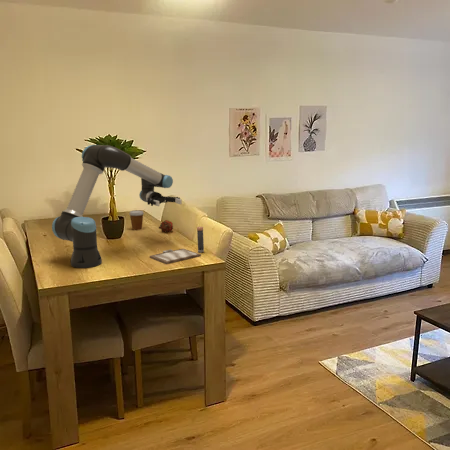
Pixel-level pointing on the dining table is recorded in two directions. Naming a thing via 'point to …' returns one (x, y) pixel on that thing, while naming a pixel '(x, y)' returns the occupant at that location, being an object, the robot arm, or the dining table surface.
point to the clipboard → (174, 256)
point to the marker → (200, 239)
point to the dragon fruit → (166, 226)
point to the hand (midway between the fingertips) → (170, 202)
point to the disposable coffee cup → (136, 219)
